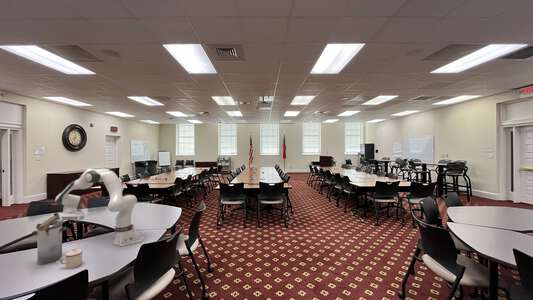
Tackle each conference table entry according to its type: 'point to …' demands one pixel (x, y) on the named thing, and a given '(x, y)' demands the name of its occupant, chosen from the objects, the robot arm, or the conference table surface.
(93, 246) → the conference table surface
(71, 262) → the teacup with lid
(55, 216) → the lock bar
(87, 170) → the robot arm
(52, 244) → the grey tall piece
